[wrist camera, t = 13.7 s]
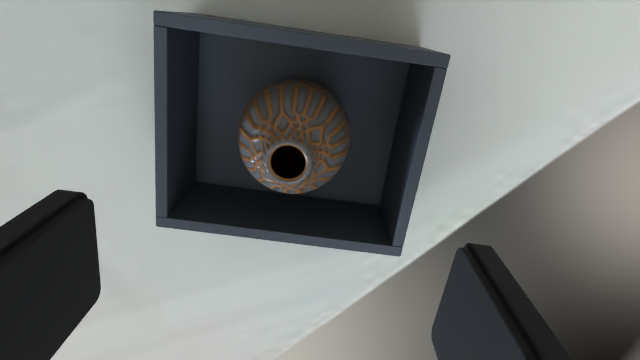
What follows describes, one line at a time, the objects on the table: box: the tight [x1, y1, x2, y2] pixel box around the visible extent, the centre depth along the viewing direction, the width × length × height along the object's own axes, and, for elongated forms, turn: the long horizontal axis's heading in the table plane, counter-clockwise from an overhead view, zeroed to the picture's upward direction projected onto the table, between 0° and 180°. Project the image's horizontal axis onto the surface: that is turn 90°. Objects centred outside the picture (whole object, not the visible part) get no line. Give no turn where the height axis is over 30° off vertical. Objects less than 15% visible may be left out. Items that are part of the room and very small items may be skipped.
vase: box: [237, 78, 350, 194], centre depth 24 cm, size 7×7×9 cm
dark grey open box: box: [154, 11, 450, 256], centre depth 26 cm, size 12×15×7 cm
